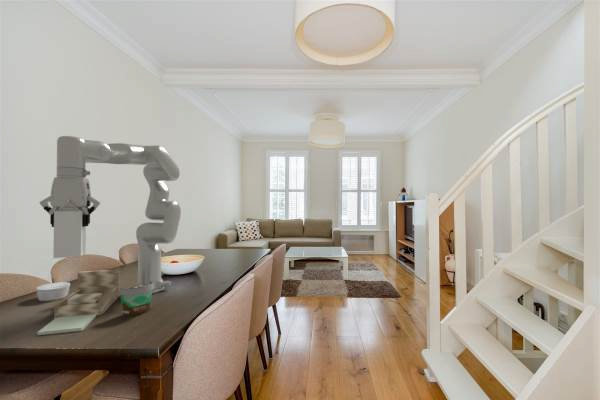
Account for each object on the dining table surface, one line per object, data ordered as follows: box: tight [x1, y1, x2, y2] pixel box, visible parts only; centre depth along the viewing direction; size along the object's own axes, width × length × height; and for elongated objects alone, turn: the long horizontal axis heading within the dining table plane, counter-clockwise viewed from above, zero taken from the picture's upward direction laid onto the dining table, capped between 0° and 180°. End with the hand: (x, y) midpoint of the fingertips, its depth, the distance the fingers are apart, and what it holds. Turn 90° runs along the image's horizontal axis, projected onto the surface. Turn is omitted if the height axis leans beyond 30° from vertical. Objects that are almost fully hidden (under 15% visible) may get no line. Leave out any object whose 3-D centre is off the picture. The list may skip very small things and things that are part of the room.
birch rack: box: [53, 269, 120, 320], centre depth 111 cm, size 14×19×12 cm
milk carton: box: [52, 199, 87, 259], centre depth 95 cm, size 7×7×19 cm
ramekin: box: [35, 281, 71, 302], centre depth 122 cm, size 11×11×5 cm
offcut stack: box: [66, 293, 102, 306], centre depth 107 cm, size 10×7×6 cm, turn 107°
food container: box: [118, 281, 154, 317], centre depth 107 cm, size 12×6×10 cm, turn 148°
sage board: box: [37, 314, 97, 336], centre depth 95 cm, size 12×12×1 cm
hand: (70, 226), depth 95 cm, fingers closed on milk carton, 7 cm apart
